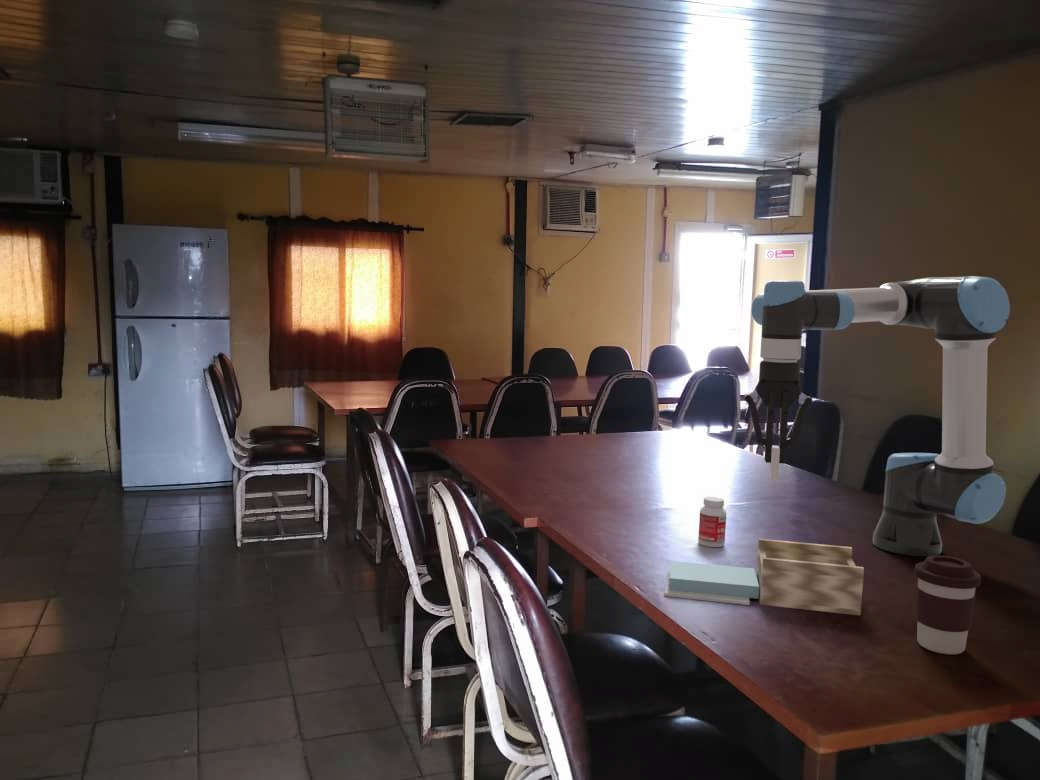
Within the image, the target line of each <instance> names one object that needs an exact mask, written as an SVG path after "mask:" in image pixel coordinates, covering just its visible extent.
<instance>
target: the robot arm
mask: <svg viewBox="0 0 1040 780" xmlns="http://www.w3.org/2000/svg"><path fill="white" fill-rule="evenodd" d="M805 286H806V285H805V283H804V282H803V281H802V280H768V281H767V282H766V284H765V285H764V289H763V292H761V293H759V294H758V295H756V296H755V298H754V299H753V301H752V303H751V316H752V318H753V320H754V321H755V323H757V324H758V325H760V326H761V339H760V355H759V356H760V358H761V359H763V360H761V361H760V362H759V374H758V376H759V377H758V383H757V385H756V387H755V390H753V391H752V392H750V393H746V394H744V399H745V401H746V403H747V405H748V406H749V410H750V414H751V415H750V416H751V420H752V425H753V430H754V431H753V432H754V434H755V435H754V436H755V440H756V443H758V444H760V445H763V446H764V461H765V463H767V464H769V473H768V474H769V481H776V482H778V481H779V473H780V472H779V471H780V464H785V462H786V452H787V451H786V450H787V448H788V447H790V446H794V445H796V444H797V440H798V438H799V435H800V431H801V428H802V425H803V422H804V419H805V415H806V412H807V410H808V408H809V407H810V406H811V405H812V403H813V398H812V397H811V396H809V395H806V394H805V393H803V392H802V391H803V390H802V388H801V385H800V375H801V374H800V373H801V363H800V362H799V361H798V360H800V359H801V358H802V341H803V340H802V338H803V331H804V330H805V331H806V330H811V331H817V330H818V331H833V332H834V331H837V330H843V329H846V328H847V327H849V326H850V325H851V324H852V323H855V324H856V323H870V322H880V323H882V324H883V325H887V326H895V325H896V326H907V327H908V326H909V327H914V328H921V329H922V328H923V329H929V330H930V329H931V330H934V332H935V334H934V337H935V339H934V340H935V341H936V342H937V343H939V345H940V346H941V347H942V394H941V395H942V399H941V401H942V407H941V409H942V410H941V411H942V414H941V418H942V419H941V424H942V425H941V428H942V429H941V430H942V431H941V452H940V454H939V453H931V452H899V453H892V454H890V455H889V456H888V458H887V462H886V468H885V474H884V475H885V476H884V478H885V479H884V492H883V507H882V514H881V516H880V518H879V521H878V522H877V524H876V527H875V530H874V531H873V534H872V544H873V545H874V546H875V547H876V548H878V549H881V550H883V551H886V552H890V553H893V554H897V555H898V554H899V555H903V556H909V557H910V556H911V557H929V556H935V555H939V556H940V555H941V554H942V553H943V552H942V550H943V541H942V537H941V534H940V530H939V526H938V522H937V514H938V515H942V516H944V517H948V518H952V519H955V520H957V521H959V522H962V523H965V522H966V523H971V524H975V525H976V524H977V525H978V524H980V525H981V524H985V523H986V522H989V521H990V520H992V519H993V518H994V517H995V516H996V515H997V514H998V512H999V511H1000V510H1001V508H1002V507H1003V504H1004V503H1005V499H1006V496H1007V495H1006V494H1007V487H1006V482H1005V480H1004V479H1003V478H1002V476H1000V475H998V474H997V473H995V472H994V461H993V459H992V458H990V457H989V456H988V455H987V401H988V400H987V399H988V397H987V396H988V347H989V346H990V344H992V343H993V342H994V341H995V340H996V339H997V338H996V337H997V332H998V331H1000V330H1002V329H1003V328H1004V327H1005V325H1006V323H1007V321H1008V319H1009V316H1010V312H1011V306H1010V299H1009V298H1010V297H1009V295H1008V293H1007V291H1006V289H1005V288H1004V286H1002V285H1001V284H1000V282H999V281H998V280H996V279H995V278H992V277H988V276H977V275H966V276H965V275H963V276H929V277H928V276H927V277H922V278H917V279H916V278H915V279H911V280H906V281H905V280H904V281H895V282H887V283H883V284H882V285H880V286H879V287H862V288H861V287H860V288H857V287H856V288H840V289H839V288H837V289H836V288H835V289H818V290H817V289H816V290H815V289H814V290H813V289H811V290H810V289H809V290H806V289H805ZM758 396H759V398H760V399H761V401H762V402H763V403H764V405H765V406H766V420H765V437H764V436H763V433H762V428H761V424H760V419H759V413H758V408H757V405H756V403H757V402H758ZM797 399H798V403H799V406H798V407H797V411H796V414H795V418H794V421H793V423H792V428H791V430H790V433H789V436H788V437H787V435H788V421H789V420H788V417H789V416H788V415H789V408H790V407H791V406H792V405H793V404H794V403H795V401H796V400H797ZM776 408H779V427H778V428H779V432H778V433H779V434H778V445H773V438H774V437H773V436H774V422H775V410H776Z"/></svg>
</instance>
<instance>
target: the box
mask: <svg viewBox="0 0 1040 780" xmlns="http://www.w3.org/2000/svg"><path fill="white" fill-rule="evenodd" d="M757 547H758V548H757V559H756V560H757V561H756V572H755V573H756V576H757V580H758V584H759V598H758V600H759V605H762V606H769V607H770V606H771V607H778V608H789V609H797V610H804V611H805V610H807V611H816V612H817V611H818V612H827V613H835V614H844V615H852V616H861V611H862V598H863V587H864V576H865V575H864V574H865V568H864V566H857V565H856V563H855V562H854V560H853V558H852V557H853V547H851V546H845V545H844V546H841V545H832V544H823V543H822V544H819V543H810V542H800V541H788V540H776V539H765V538H758V544H757Z"/></svg>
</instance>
